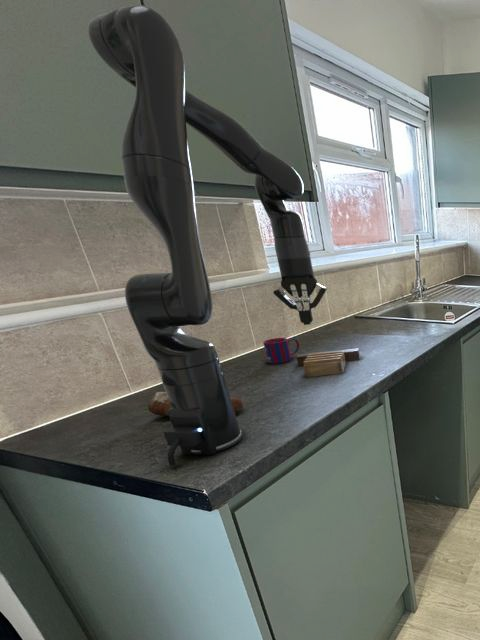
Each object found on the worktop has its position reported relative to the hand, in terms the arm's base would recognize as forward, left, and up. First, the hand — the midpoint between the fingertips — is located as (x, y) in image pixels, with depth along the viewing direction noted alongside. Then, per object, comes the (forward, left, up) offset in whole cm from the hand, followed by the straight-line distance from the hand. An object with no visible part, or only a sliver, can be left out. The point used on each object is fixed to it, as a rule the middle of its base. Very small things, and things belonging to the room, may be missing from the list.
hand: (307, 324), depth 111 cm
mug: (+18, +21, -16) cm, 32 cm away
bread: (-22, +17, -16) cm, 32 cm away
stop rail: (+16, +5, -16) cm, 23 cm away
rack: (+8, +2, -16) cm, 18 cm away
